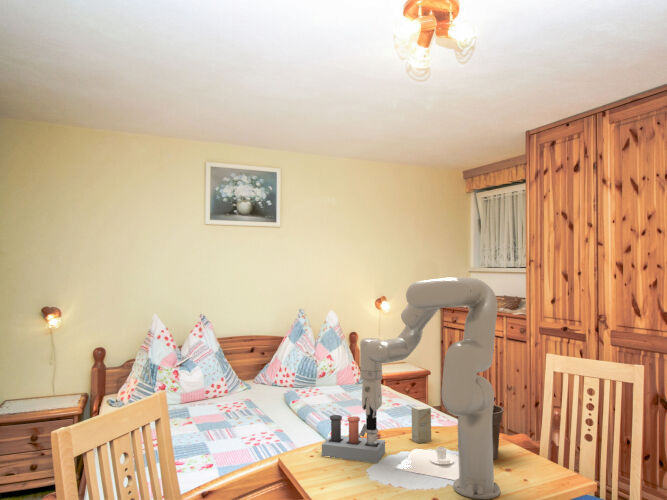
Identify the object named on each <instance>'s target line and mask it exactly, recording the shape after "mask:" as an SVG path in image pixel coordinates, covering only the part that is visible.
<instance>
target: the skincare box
mask: <svg viewBox="0 0 667 500" xmlns="http://www.w3.org/2000/svg"><path fill="white" fill-rule="evenodd" d="M431 409H432V408H431V407H429V406H425V405H419V406H413V407H411V440H412V441H414V442H416V443H418V444H421V443H426V442H427V443H429V442H431V441H432V410H431Z"/></svg>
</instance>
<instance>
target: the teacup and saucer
mask: <svg viewBox="0 0 667 500" xmlns="http://www.w3.org/2000/svg"><path fill="white" fill-rule="evenodd" d="M435 452H436V454H435V455H432V456H430V457H429V461H430V462H431V463H433V464H436V465H443V466H445V465H451V464H453V463H454V462H455V459H454V458H453V457H452V456H449V455H447V454H448V453H447V448H446V447H444V446H437V447H436V451H435Z"/></svg>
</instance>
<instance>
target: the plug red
mask: <svg viewBox="0 0 667 500" xmlns="http://www.w3.org/2000/svg"><path fill="white" fill-rule="evenodd" d="M360 421H361V419H360V417H359V416H348V417H347V422H348V434H349V443H352V444H356V443H359V434H360V431H359V428H360V427H359V422H360Z"/></svg>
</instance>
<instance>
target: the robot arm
mask: <svg viewBox="0 0 667 500" xmlns="http://www.w3.org/2000/svg"><path fill="white" fill-rule="evenodd" d="M405 298H406V302H407V303H408V304H407V305H406V307H404V309H403V310H402V312H401V313H400V319H401V320H402V322H403V325H405V326H404V329H402V331H401V332H400V334H399V335H398V336H397V337H396V338H390V339H382V340H381V339H379V338H376V337H375V338H373V337H367V338H362V339H361V340H360V346H359V347H360V349H359V350H360V351H359V354H360V355H359V356H360V357H359V358H360V361H359V362H360V363H359V364H360V365H359V366H360V367H359V368H360V370H359V371H360V372H359V375H360V377H359V378H360V380H361V381H362V386H361V387H362V389H361V391H362V393H361V406H362V409H363V410H364V411H365V415H366V416H365V418H366V419H365V421H366V422H365V424H366V429H367V430H376V428H377V427H378V426H377V422H378V421H377V412H378V411H377V410H378V409H380V408H381V406H383V405H382V404H383V397H382V395H383V394H382V393H383V391H382V380H383V364H390V363H395V362H399V361H403V360H405V359H407V358H409V356H410V355H411V354H412V353H413V352H414V350H415V349H416V348H417V347H418V346H419V344H420V342H421V340H422V337H423V330H424V328H425V327H426V326H427V324H429V322H430V321H431V320H432V319H433V317H434V316H435V315H436V314H437V313H438V311H439V310H440V309H442V308H443V309H444V308H459V307H460V308H462V307H463V308H464V307H467V308H468V313H467V314H466V317H465V321H464V331H463V338H462V340H457V341H456V342H453V343H452V344H451V345H450V346H449V347H448V349H447V350H446V353H445V356H444V360H443V361H444V362H443V369H442V381H441V382H442V383H441V400H442V404H443V406H444V408H445V410H446V411H447V412H448V413H449V414H452V416H456V417H457V416H458V419H457V455H458V464H459V478H458V479H456V480H453V486H452V487H453V490H454V491H455V492H457V493H458V494H459V495H462V496H464V497H467V498H471V499H476V500H490V499H494V498H496V497H498V496H499V495H500V493H501V489H500V488H501V487H500V486H499V485H498V483H496V482H495V476H494V475H495V474H494V470H495V469H494V459H493V438H492V415H493V406H494V405H495V404H494V403H495V392H494V387H493V385H492V383H491V382H490V381H489V380H488V379H487V378H485V377H483V376H482V375H479V373H483V372H486V371H487V370H489V369H490V368H491V366H492V365H493V360H494V349H495V339H496V326H497V319H498V318H497V316H498V299H497V297H496V294H495V292H494V290H493V288H492V287H491V286H489V285H488V283H486V282H485V281H482V280H480V279H478V278H474V277H459V276H458V277H455V276H453V277H451V276H449V277H442V278H441V277H440V278H434V279H433V278H432V279H423V280H416V281H414V282H412V283H411V284H410V285H409V286H408V288H407V290H406V294H405ZM477 374H478V375H477ZM377 429H378V428H377Z"/></svg>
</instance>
